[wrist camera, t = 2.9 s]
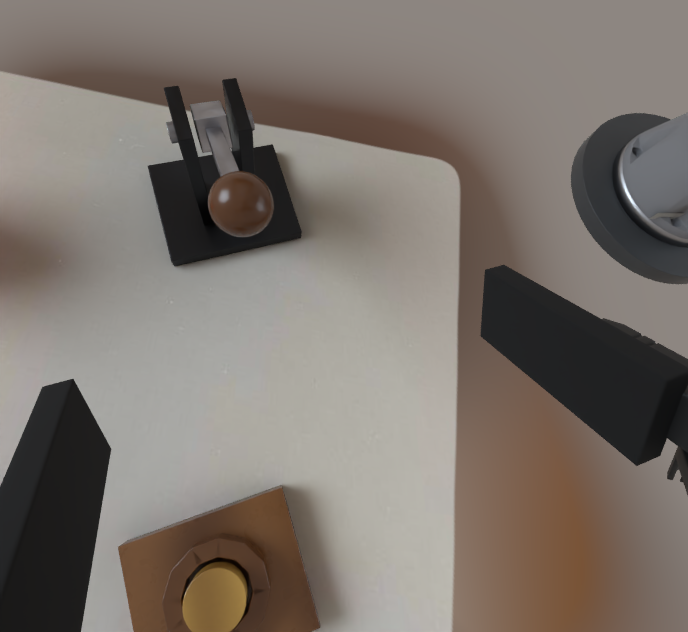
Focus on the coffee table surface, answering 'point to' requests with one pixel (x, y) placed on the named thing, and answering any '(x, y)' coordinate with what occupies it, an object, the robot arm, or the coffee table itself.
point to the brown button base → (222, 546)
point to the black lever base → (199, 176)
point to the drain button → (215, 598)
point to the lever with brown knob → (230, 177)
